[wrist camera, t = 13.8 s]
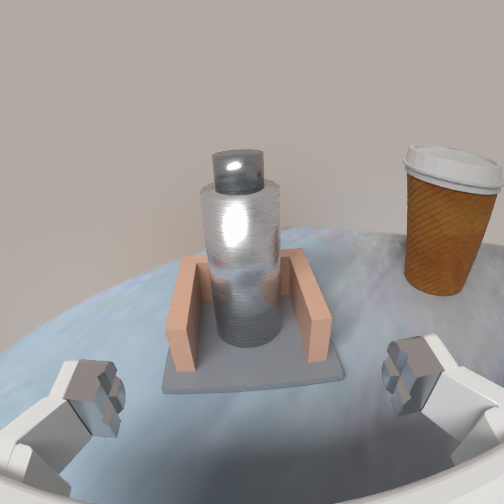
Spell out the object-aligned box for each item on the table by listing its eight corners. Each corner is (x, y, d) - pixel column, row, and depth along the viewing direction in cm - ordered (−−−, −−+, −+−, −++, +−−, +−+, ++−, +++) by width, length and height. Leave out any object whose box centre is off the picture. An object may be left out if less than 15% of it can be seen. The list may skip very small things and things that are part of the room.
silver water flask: (276, 305, 25) (272, 145, 20) (284, 344, 21) (284, 158, 16) (217, 309, 25) (200, 150, 19) (216, 350, 21) (192, 165, 15)
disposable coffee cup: (399, 306, 24) (424, 159, 19) (381, 253, 33) (392, 139, 27) (491, 306, 23) (526, 176, 17) (458, 256, 31) (476, 151, 26)
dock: (307, 284, 28) (309, 243, 26) (342, 379, 18) (352, 332, 17) (181, 293, 28) (174, 252, 26) (163, 393, 18) (147, 347, 16)
